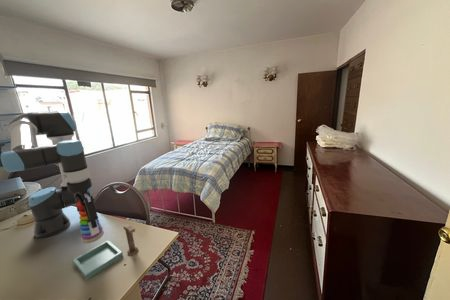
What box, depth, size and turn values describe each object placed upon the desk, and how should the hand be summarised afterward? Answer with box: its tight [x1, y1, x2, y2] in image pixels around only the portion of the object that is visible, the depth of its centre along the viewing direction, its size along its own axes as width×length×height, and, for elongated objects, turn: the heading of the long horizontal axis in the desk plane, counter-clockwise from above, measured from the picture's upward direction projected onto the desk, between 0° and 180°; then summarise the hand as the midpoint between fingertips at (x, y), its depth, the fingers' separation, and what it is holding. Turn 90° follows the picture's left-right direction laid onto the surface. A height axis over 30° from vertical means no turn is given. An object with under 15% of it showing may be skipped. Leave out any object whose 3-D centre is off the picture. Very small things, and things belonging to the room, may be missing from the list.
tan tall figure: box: [123, 223, 139, 256], centre depth 85 cm, size 6×4×14 cm
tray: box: [72, 239, 124, 281], centre depth 83 cm, size 14×14×2 cm
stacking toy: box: [76, 201, 105, 244], centre depth 78 cm, size 8×8×19 cm
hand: (91, 230), depth 79 cm, fingers closed on stacking toy, 7 cm apart
